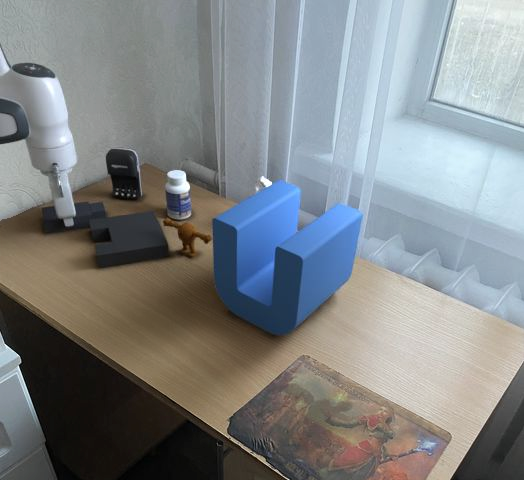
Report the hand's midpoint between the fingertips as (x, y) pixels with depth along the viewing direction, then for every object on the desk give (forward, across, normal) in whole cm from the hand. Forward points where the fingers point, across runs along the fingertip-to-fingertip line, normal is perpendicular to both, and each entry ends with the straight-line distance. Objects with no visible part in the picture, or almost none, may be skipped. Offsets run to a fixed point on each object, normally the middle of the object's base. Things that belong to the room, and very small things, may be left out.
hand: (67, 215), depth 116 cm
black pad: (+2, -12, -11) cm, 16 cm away
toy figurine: (+2, -19, -22) cm, 29 cm away
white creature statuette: (+2, -14, -39) cm, 42 cm away
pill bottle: (+2, -3, -24) cm, 24 cm away
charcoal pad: (+2, 0, -2) cm, 2 cm away
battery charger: (+2, +8, -14) cm, 16 cm away
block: (+2, -39, -35) cm, 52 cm away
